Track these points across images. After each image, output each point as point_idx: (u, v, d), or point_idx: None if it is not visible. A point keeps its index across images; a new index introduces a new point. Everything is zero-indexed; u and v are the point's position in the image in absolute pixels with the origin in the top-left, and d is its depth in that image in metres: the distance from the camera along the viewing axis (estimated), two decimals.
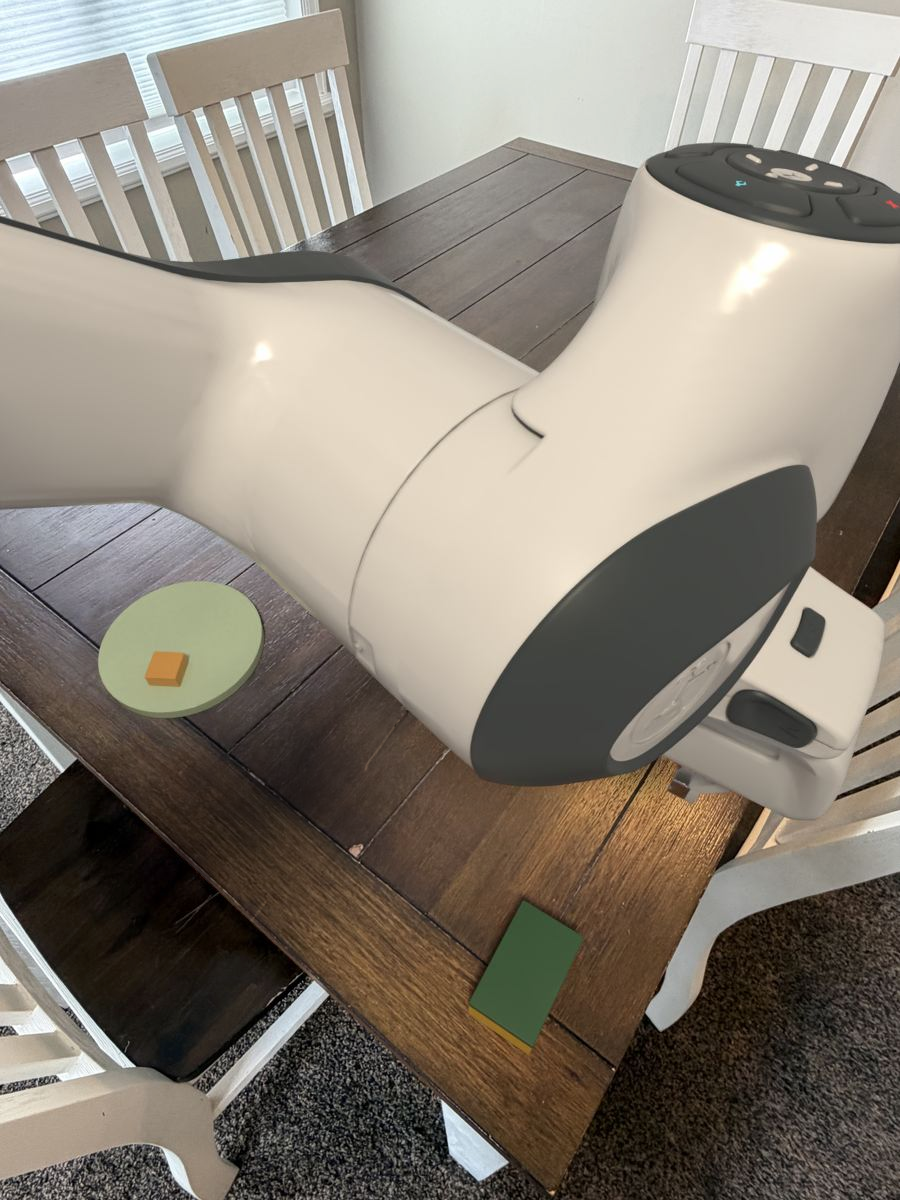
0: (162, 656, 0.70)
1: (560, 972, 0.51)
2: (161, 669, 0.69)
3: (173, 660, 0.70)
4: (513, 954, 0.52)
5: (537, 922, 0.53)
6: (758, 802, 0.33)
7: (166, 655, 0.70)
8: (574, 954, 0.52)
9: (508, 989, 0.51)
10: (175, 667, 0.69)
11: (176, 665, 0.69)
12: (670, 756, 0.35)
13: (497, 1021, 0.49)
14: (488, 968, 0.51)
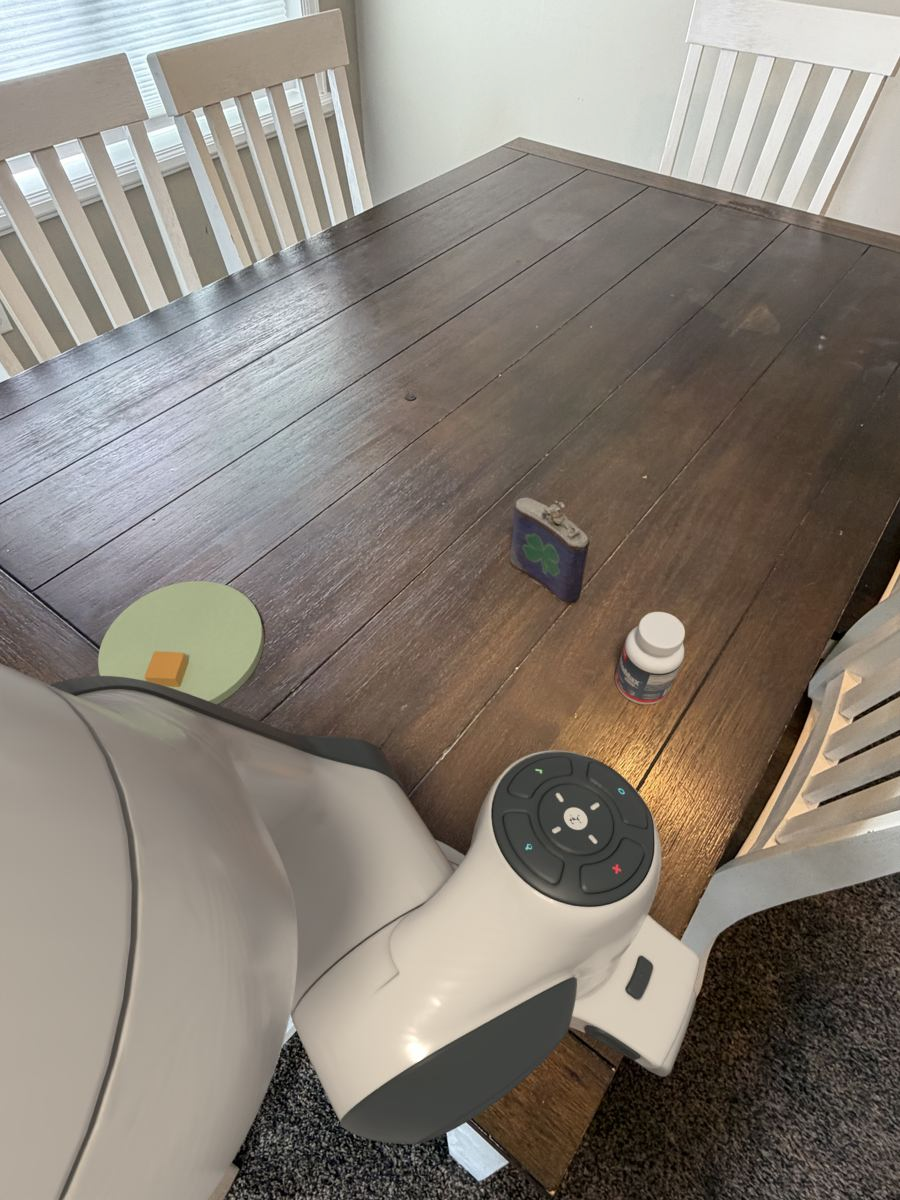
0: (162, 656, 0.70)
1: None
2: (161, 669, 0.69)
3: (173, 660, 0.70)
4: None
5: None
6: None
7: (166, 655, 0.70)
8: None
9: None
10: (175, 667, 0.69)
11: (176, 665, 0.69)
12: None
13: None
14: None
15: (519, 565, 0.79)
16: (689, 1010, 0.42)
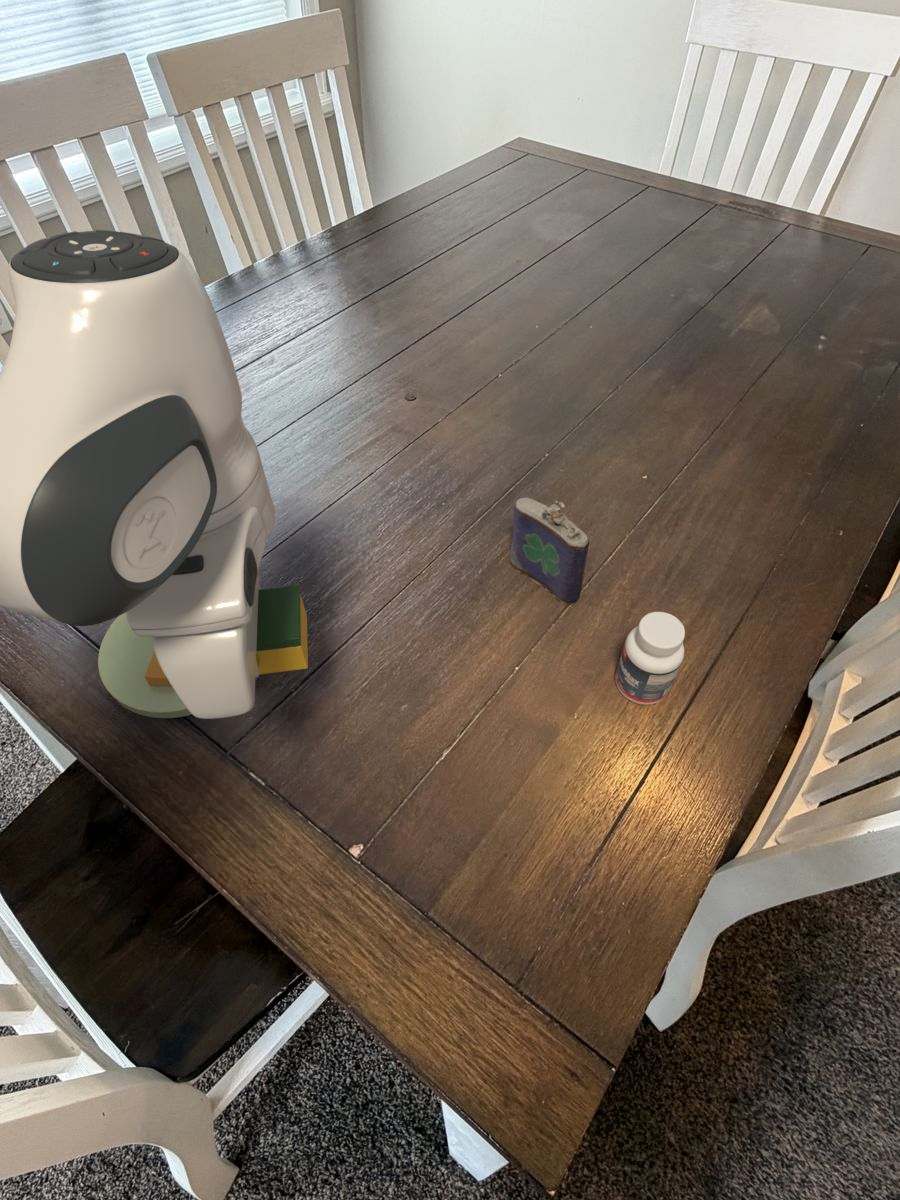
0: None
1: (257, 638, 0.52)
2: (161, 669, 0.69)
3: None
4: None
5: (286, 603, 0.54)
6: None
7: None
8: (278, 639, 0.52)
9: None
10: None
11: None
12: None
13: None
14: None
15: (519, 565, 0.79)
16: (219, 656, 0.41)
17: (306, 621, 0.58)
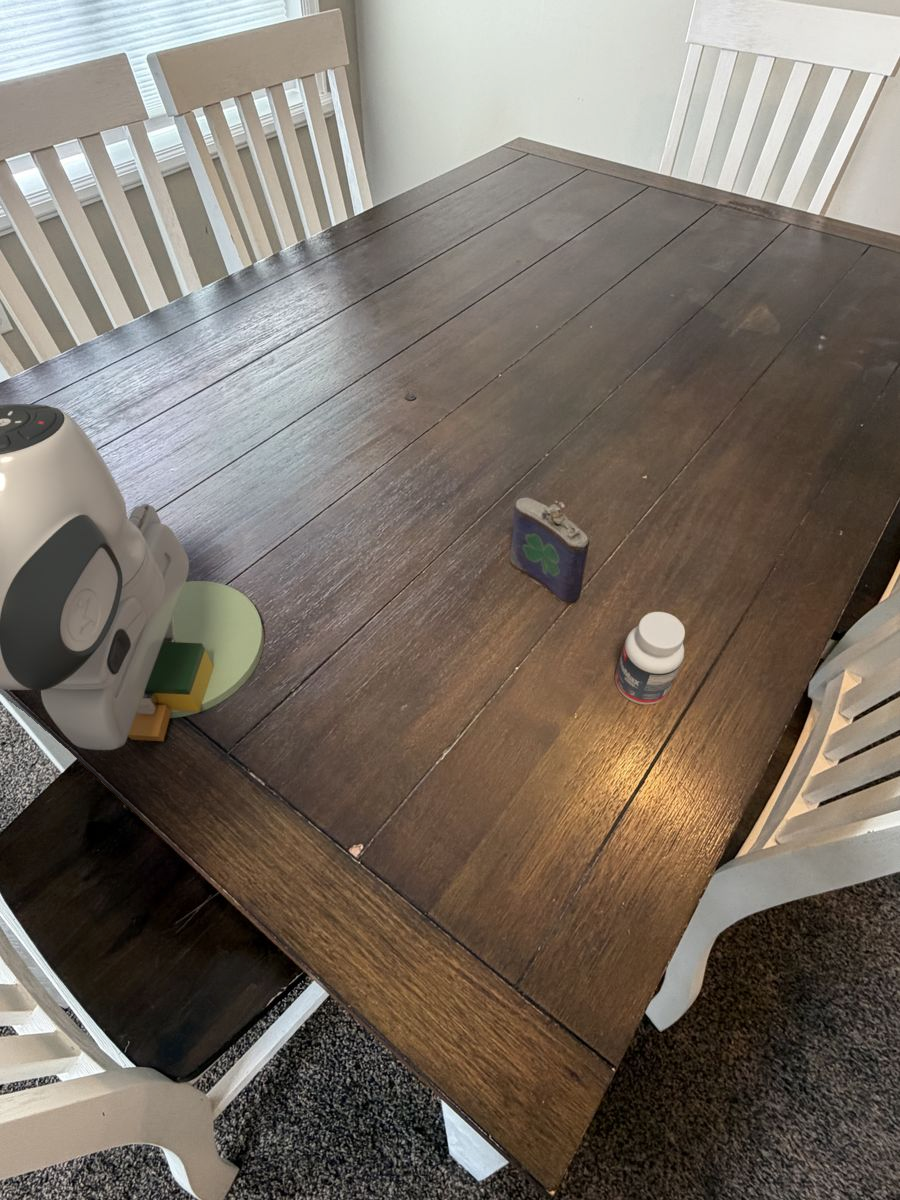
0: None
1: (155, 683, 0.65)
2: (142, 725, 0.66)
3: (154, 714, 0.66)
4: (159, 651, 0.67)
5: (188, 657, 0.67)
6: None
7: None
8: (171, 687, 0.65)
9: None
10: (157, 723, 0.66)
11: (158, 720, 0.66)
12: None
13: None
14: None
15: (519, 565, 0.79)
16: (86, 708, 0.54)
17: (210, 671, 0.70)
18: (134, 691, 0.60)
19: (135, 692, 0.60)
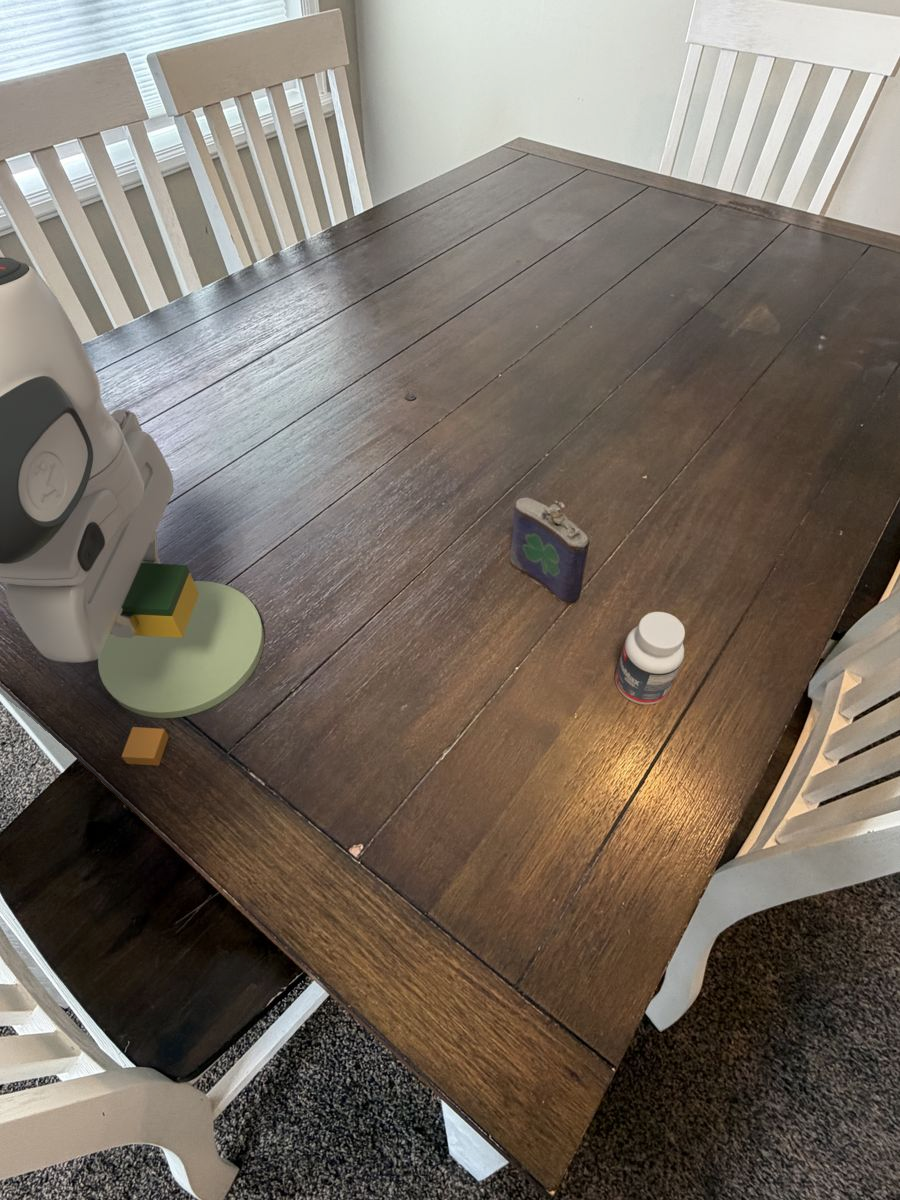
0: (141, 732, 0.66)
1: (135, 603, 0.61)
2: (139, 747, 0.65)
3: (152, 737, 0.66)
4: (140, 572, 0.63)
5: (170, 578, 0.62)
6: None
7: (145, 731, 0.66)
8: (151, 607, 0.60)
9: None
10: (154, 745, 0.65)
11: (155, 743, 0.65)
12: None
13: None
14: None
15: (519, 565, 0.79)
16: (55, 608, 0.49)
17: (196, 598, 0.66)
18: (110, 602, 0.55)
19: (111, 603, 0.55)
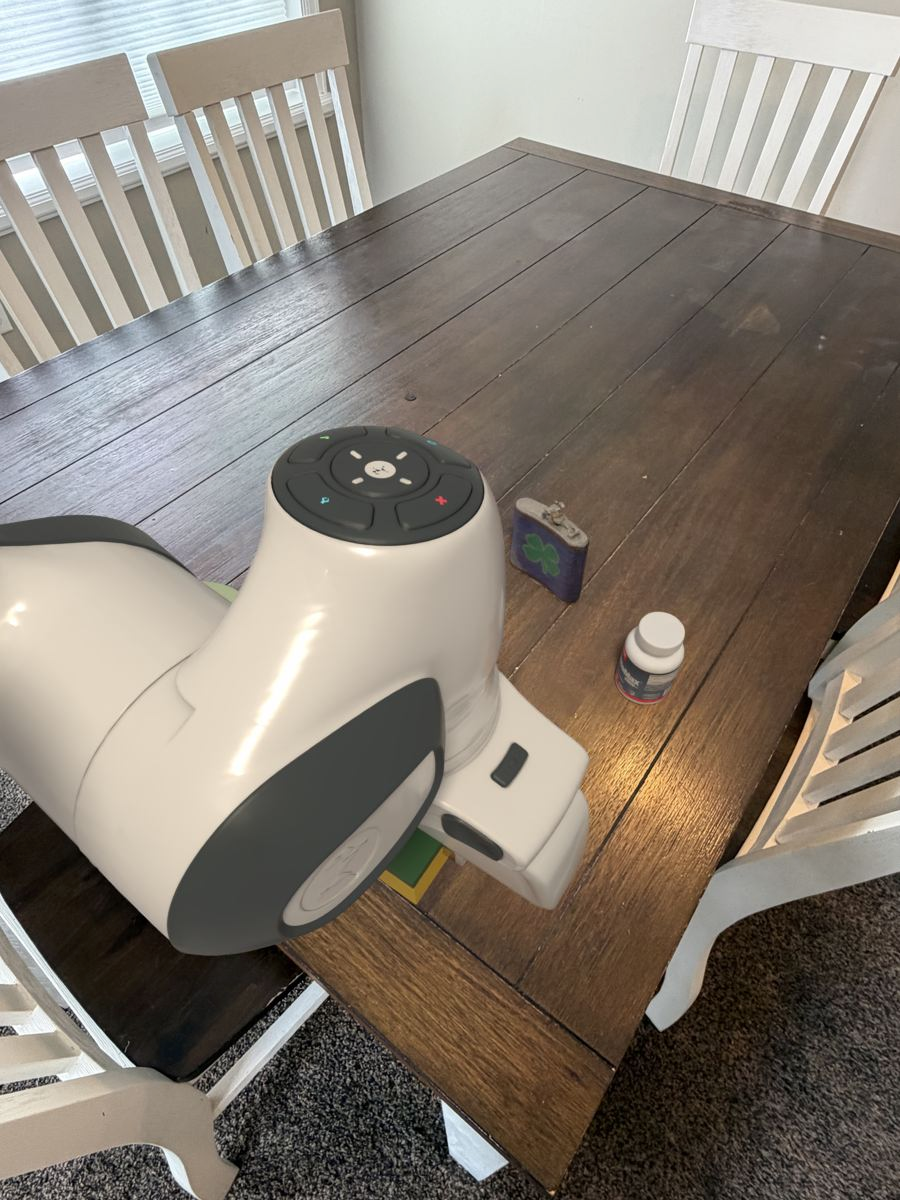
0: None
1: None
2: None
3: None
4: None
5: None
6: None
7: None
8: None
9: None
10: None
11: None
12: (445, 845, 0.40)
13: None
14: None
15: (519, 565, 0.79)
16: (577, 822, 0.35)
17: None
18: None
19: None
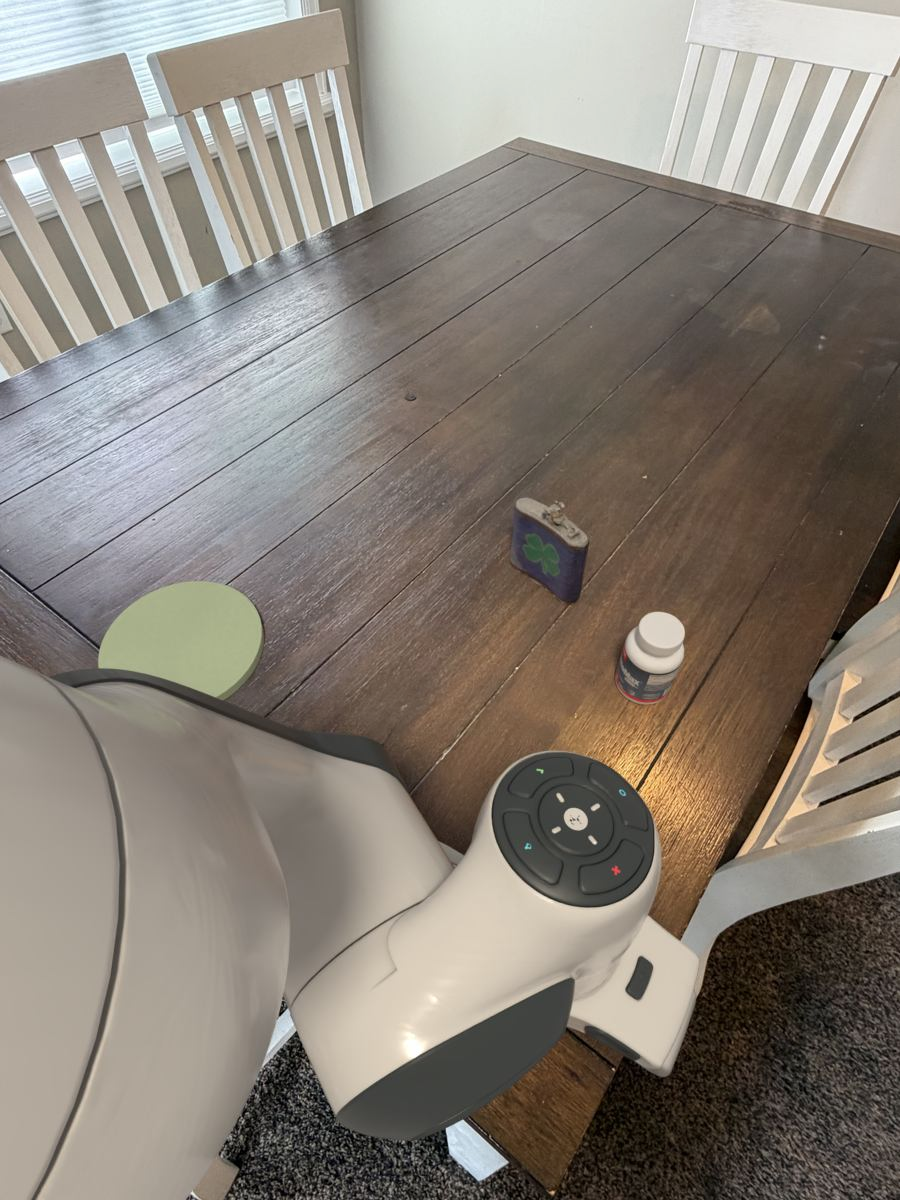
0: None
1: None
2: None
3: None
4: None
5: None
6: None
7: None
8: None
9: None
10: None
11: None
12: None
13: None
14: None
15: (519, 565, 0.79)
16: (689, 1010, 0.42)
17: None
18: None
19: None
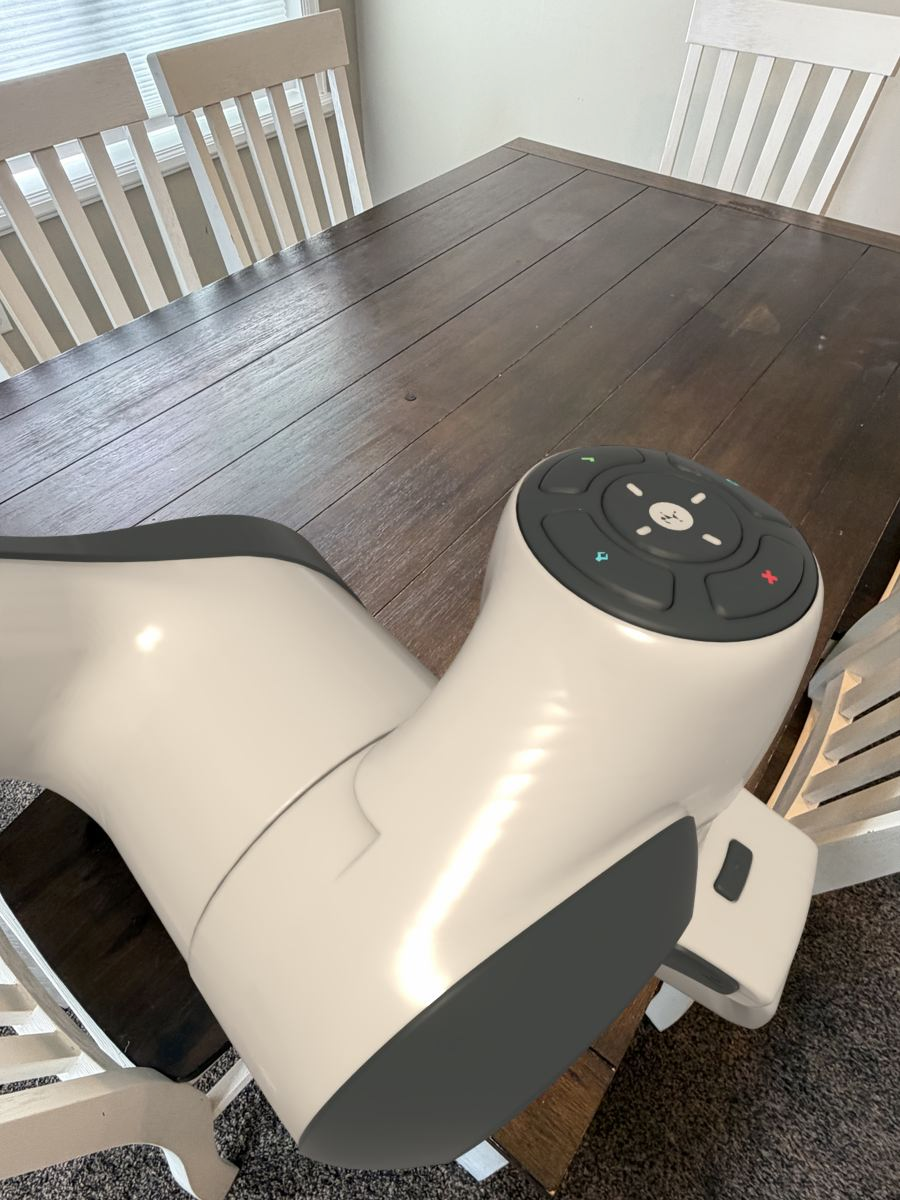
0: None
1: None
2: None
3: None
4: None
5: None
6: None
7: None
8: None
9: None
10: None
11: None
12: None
13: None
14: None
15: None
16: None
17: None
18: None
19: None
